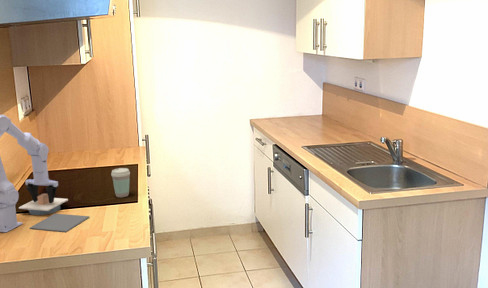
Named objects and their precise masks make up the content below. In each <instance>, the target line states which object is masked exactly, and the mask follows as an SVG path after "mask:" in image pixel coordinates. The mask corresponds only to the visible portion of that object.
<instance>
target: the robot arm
mask: <svg viewBox="0 0 488 288" xmlns="http://www.w3.org/2000/svg"><path fill="white" fill-rule="evenodd" d="M5 133H6V134H8V135H10V136H11V137H13V138H15V139H16V142H17V144H18V145H19V146H20V147H22V148H23V149H24V150H26V152H27V154H28V155H29V156H30V157H31V158H30V159H31V165H32V174H33V175H32V176H33V179H31V178H29V179H26V180H25V186H26V187H25V189H26V190H27V191H28V193H29V194H30V196H31V198H32V201H34V202H36V201H38V197H37V196H39V186H41V187H42V186H45V188H44V189H45V191H46V194H48V199H49V203H52V202H54V198H55V197H56V192H57V190H58V187H59V181H58V180H57V181H56V180H54V179H53V180H52V179H50V178H49V171H48V170H49V169H48V161H47V160H48V154H49V151H50V149H49V147H48V145H47V144H46V143H45V142H41V141H40V140H39V139H38V138H35V137H34V136H33V134H32V133H31V132H25V131H24V132H23V131H22V130H21V129H20V128H19V127H18V126H16V125H15V123H13V122H12V119H11V118H10V117H8V116H7V115H6V114H0V138H1V137H2V136H3V135H4V134H5ZM19 195H20V194H19V191H18V189H17V190H16V187H15V185H14V183H12V182H11V181H10V180H9V179H8V177H7V174H6V171H5V167H4V165H3V161H2V157H1V156H0V233H8V232H10V231H11V230H14V229H15V228H17V227H20V226H21V225H23V224H24V223H23V221H22V222H21V221H18V218H17V211H16V205H17V202H18V201H19V199H20V198H19V197H20V196H19Z"/></svg>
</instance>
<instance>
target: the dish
mask: <svg viewBox="0 0 488 288" xmlns="http://www.w3.org/2000/svg"><path fill="white" fill-rule="evenodd" d="M60 210H61V204H60V205H58V206H57V207H55V208H53V209H51V210H49V211H40V210H28V212H29V215H35V216H44V215H49V214H55V213H56V212H57V211H60Z"/></svg>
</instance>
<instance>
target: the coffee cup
mask: <svg viewBox="0 0 488 288" xmlns="http://www.w3.org/2000/svg"><path fill="white" fill-rule="evenodd" d="M130 174H131V171H130V169H129V168H127V167H119V168H114V169H112V170H111V174H110V175H111V176H110V177H111V178H112V183H113V187H114V188H113V189H114V194H115V196H116V197H117V198H126V197H128V196H129V194H130V179H131V178H130V177H131V175H130Z"/></svg>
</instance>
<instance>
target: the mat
mask: <svg viewBox="0 0 488 288" xmlns="http://www.w3.org/2000/svg"><path fill="white" fill-rule="evenodd" d="M88 219H90V215H89V216H88V215H80V214H79V215H77V214H68V213H67V214H65V213H56V212H54V213H52V215H50V216H48V217H46V218H45V219H43V220H41V221H39V222H37V223H36V224H33V225H31V226H30V227H29V230H38V231H47V232H58V233H68V232H69V231H70V230H72V229H74V228H76V226H78V225H80V224H82V223H83V222H85V221H86V220H88Z"/></svg>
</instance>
